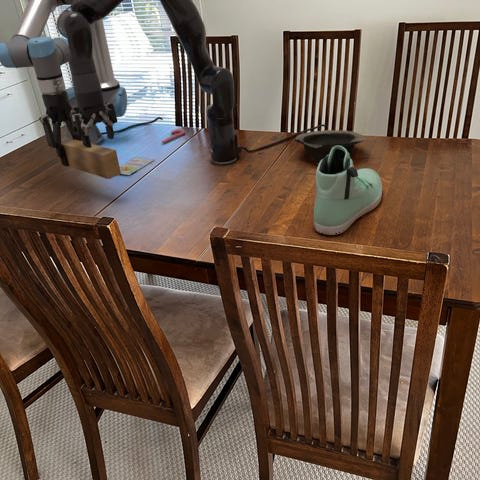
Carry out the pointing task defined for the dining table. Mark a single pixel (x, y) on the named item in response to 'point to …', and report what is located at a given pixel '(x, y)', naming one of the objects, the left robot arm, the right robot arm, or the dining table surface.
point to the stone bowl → (328, 142)
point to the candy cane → (179, 131)
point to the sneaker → (343, 192)
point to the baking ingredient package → (133, 165)
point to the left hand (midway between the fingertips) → (72, 162)
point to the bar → (91, 158)
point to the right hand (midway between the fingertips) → (99, 142)
